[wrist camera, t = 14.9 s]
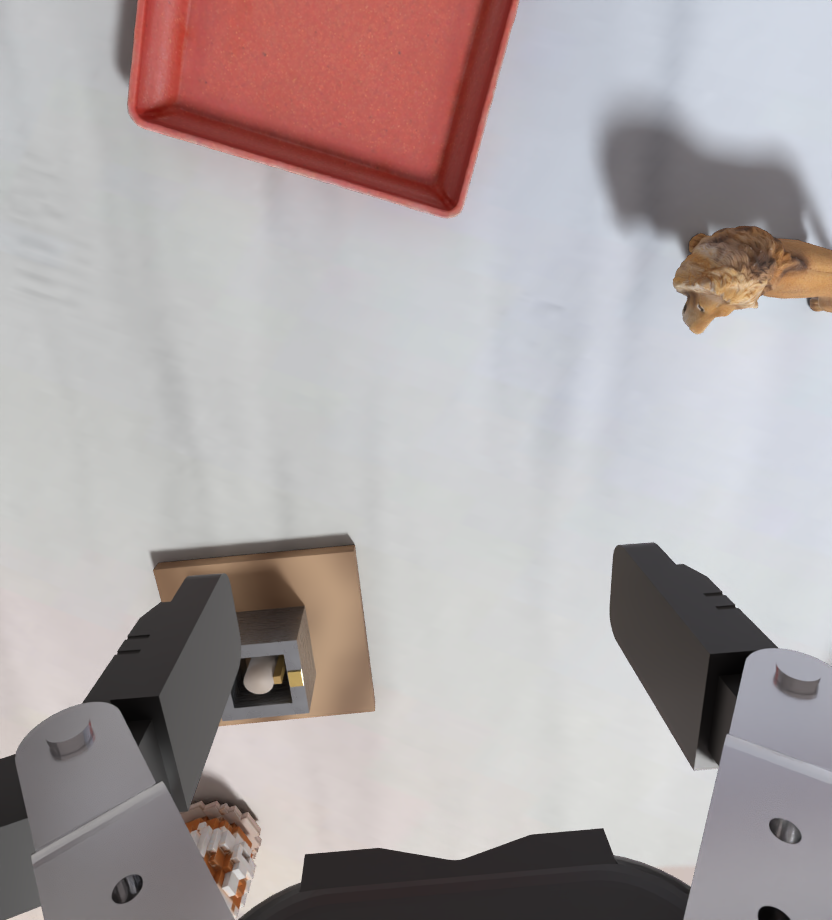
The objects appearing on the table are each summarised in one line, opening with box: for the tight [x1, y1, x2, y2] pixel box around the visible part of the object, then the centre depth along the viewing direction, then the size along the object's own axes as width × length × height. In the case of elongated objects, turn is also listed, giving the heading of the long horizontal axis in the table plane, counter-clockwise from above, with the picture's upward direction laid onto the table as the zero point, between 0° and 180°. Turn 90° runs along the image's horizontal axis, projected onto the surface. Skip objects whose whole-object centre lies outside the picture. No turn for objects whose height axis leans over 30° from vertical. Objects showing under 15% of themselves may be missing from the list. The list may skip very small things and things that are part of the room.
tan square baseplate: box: [153, 545, 375, 726], centre depth 41 cm, size 14×14×5 cm
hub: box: [222, 606, 316, 721], centre depth 41 cm, size 6×6×4 cm
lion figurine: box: [673, 226, 832, 334], centre depth 32 cm, size 15×5×9 cm, turn 93°
